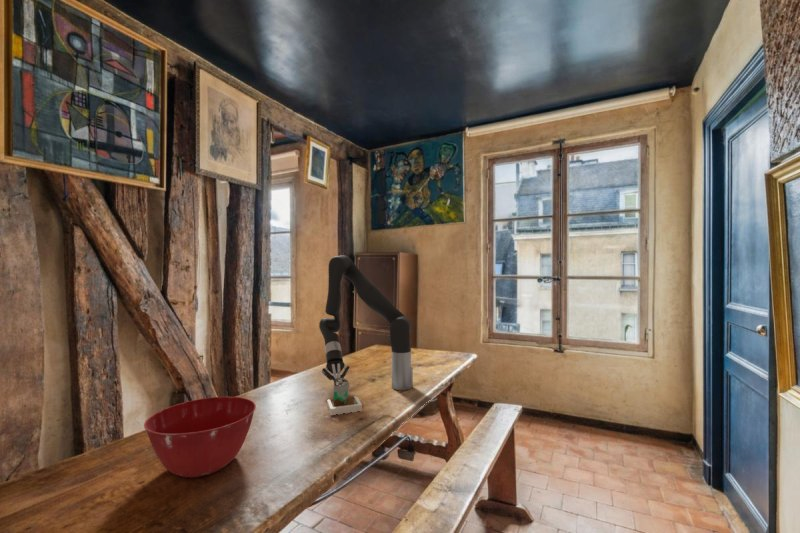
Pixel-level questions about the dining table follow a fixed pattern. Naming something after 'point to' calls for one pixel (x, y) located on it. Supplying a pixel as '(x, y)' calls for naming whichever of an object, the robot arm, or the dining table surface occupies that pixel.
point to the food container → (340, 392)
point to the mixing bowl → (200, 434)
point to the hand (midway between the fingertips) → (338, 387)
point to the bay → (345, 407)
